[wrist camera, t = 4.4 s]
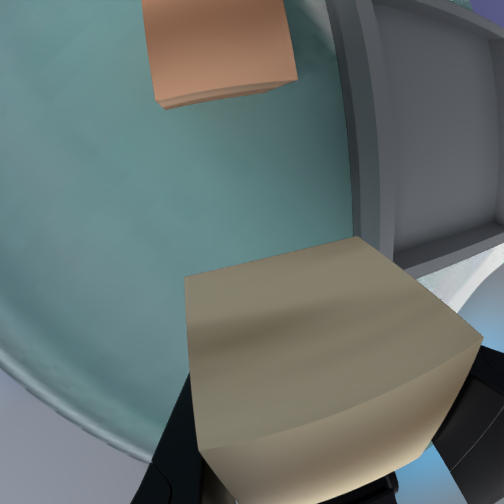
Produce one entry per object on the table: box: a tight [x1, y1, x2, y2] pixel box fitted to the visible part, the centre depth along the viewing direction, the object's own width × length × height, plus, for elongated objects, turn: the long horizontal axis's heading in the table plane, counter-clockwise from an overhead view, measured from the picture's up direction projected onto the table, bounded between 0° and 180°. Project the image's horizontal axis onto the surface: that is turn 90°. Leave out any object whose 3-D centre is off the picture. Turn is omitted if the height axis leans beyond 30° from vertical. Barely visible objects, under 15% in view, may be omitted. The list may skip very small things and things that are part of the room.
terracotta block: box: [142, 0, 298, 110], centre depth 10 cm, size 5×5×5 cm
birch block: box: [184, 236, 484, 504], centre depth 7 cm, size 5×5×5 cm
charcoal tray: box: [325, 0, 504, 279], centre depth 15 cm, size 18×16×3 cm
